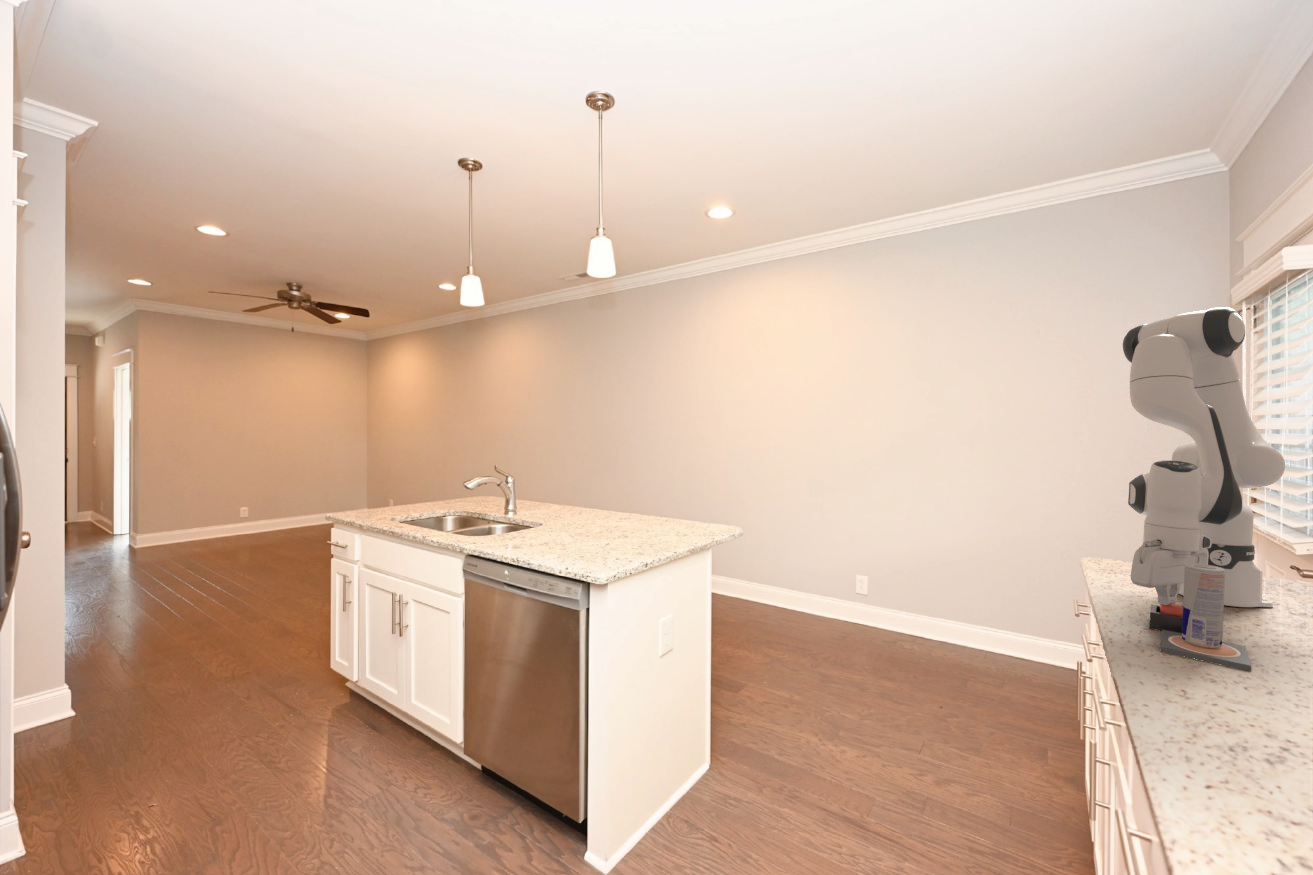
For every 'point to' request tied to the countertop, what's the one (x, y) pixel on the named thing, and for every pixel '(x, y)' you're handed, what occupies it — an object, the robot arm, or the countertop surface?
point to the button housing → (1164, 620)
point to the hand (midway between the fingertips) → (1166, 603)
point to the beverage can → (1203, 605)
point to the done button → (1172, 609)
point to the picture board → (1206, 651)
